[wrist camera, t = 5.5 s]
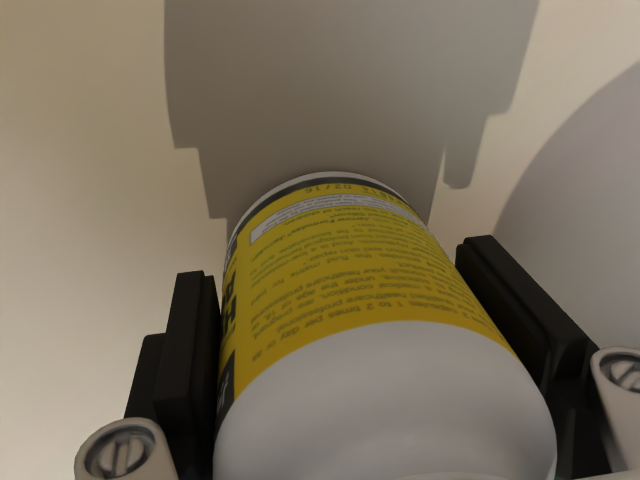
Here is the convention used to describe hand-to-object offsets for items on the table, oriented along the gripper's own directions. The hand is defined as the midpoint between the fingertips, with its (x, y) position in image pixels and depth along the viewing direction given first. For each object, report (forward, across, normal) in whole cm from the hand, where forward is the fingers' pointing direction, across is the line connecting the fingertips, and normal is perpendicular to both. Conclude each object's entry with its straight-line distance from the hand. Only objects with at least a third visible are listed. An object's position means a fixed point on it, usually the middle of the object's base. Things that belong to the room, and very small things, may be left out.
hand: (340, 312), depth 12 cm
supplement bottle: (+3, 0, 0) cm, 3 cm away
